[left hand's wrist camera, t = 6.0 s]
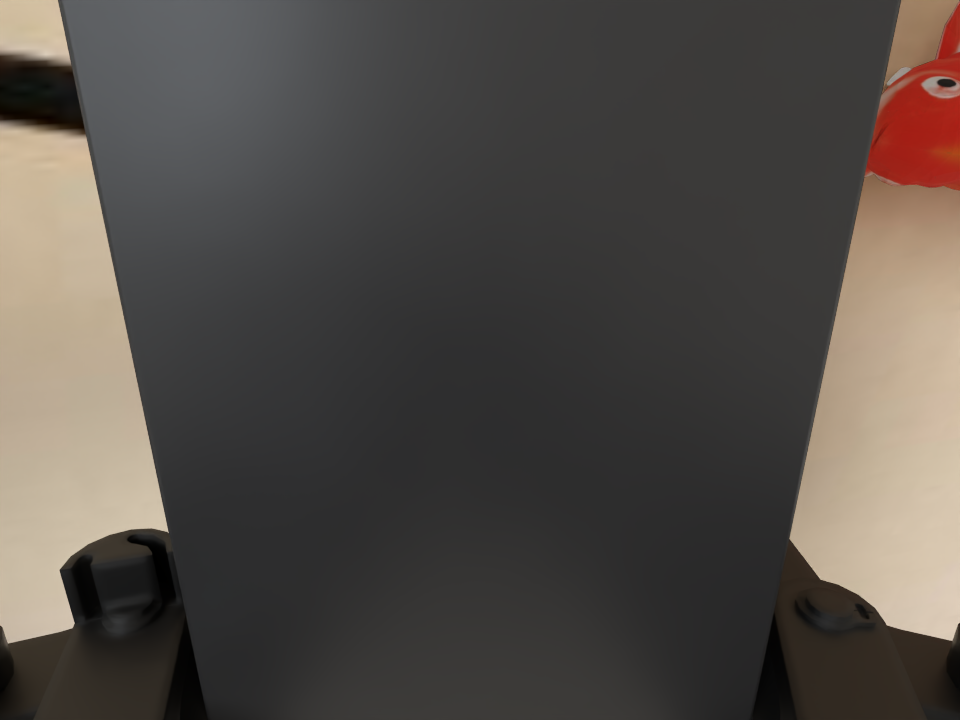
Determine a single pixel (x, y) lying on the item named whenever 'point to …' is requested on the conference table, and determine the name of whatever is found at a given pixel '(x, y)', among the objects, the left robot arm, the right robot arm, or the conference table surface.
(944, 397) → the conference table surface
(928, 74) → the fish
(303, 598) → the bar
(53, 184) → the conference table surface
